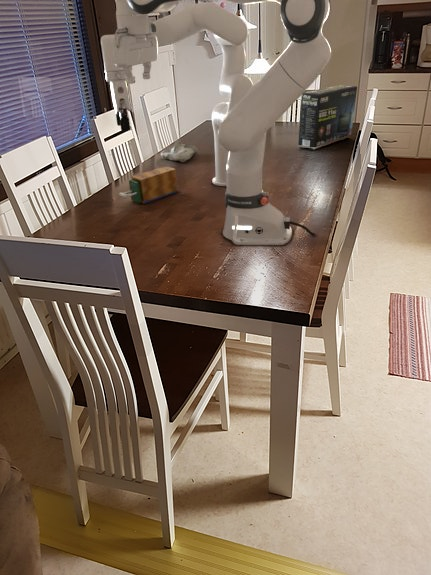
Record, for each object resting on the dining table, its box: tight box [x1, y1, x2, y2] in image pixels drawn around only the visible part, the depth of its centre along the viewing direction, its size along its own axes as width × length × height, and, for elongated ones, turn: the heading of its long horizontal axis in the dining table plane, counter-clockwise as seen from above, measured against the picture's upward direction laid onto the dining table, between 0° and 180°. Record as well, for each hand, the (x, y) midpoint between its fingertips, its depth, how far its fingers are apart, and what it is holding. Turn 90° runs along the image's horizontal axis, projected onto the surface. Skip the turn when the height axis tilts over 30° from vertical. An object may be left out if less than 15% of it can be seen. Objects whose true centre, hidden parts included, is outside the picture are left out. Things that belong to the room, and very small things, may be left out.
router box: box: [297, 84, 358, 151], centre depth 238 cm, size 36×11×27 cm, turn 134°
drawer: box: [118, 179, 143, 204], centre depth 177 cm, size 22×5×8 cm, turn 135°
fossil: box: [160, 142, 199, 163], centre depth 229 cm, size 18×11×15 cm
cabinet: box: [131, 165, 179, 205], centre depth 180 cm, size 17×6×10 cm, turn 135°
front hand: (139, 81), depth 135 cm, fingers open, 8 cm apart
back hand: (123, 127), depth 165 cm, fingers open, 9 cm apart
